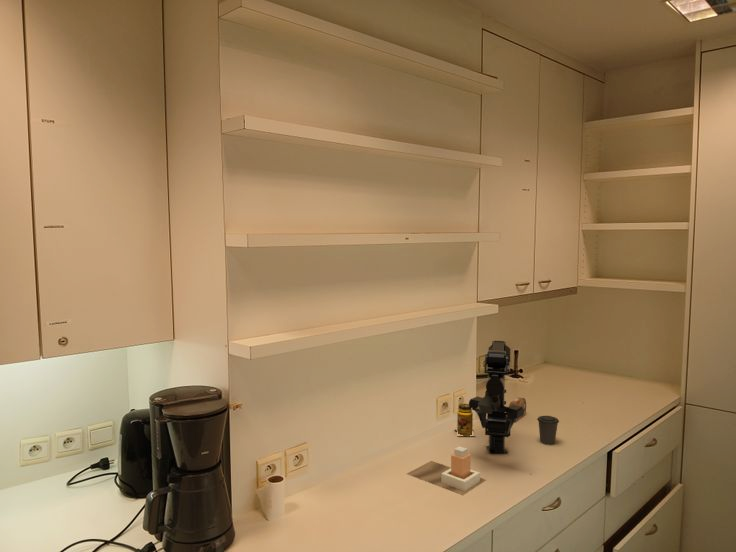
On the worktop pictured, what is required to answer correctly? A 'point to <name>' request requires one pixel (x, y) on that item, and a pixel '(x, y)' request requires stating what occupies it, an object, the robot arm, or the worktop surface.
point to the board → (437, 476)
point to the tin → (521, 403)
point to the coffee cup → (547, 429)
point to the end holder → (460, 480)
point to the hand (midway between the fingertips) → (495, 431)
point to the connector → (460, 463)
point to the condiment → (465, 420)
